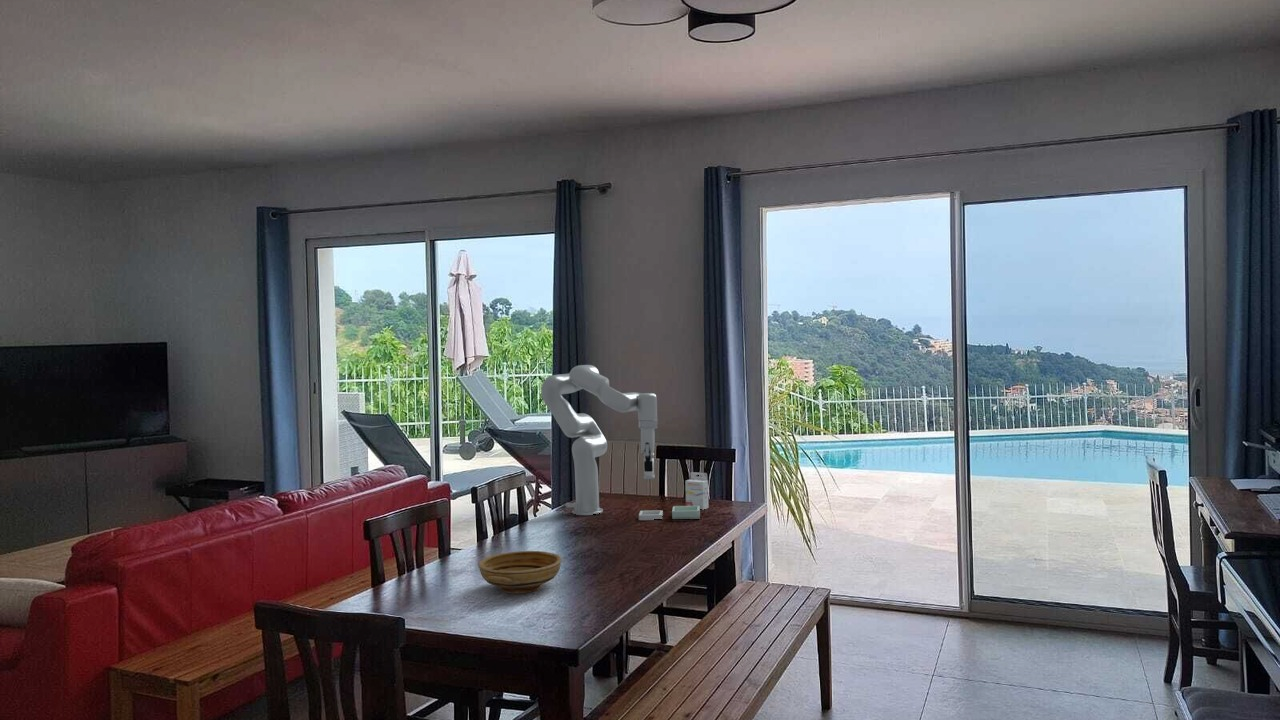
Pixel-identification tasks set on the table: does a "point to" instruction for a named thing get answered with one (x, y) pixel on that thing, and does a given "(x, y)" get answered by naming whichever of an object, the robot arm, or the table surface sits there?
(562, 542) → the table surface
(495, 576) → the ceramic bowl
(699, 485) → the ink cartridge box
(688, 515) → the tray
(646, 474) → the fuse
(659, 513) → the white square dish
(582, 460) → the robot arm
